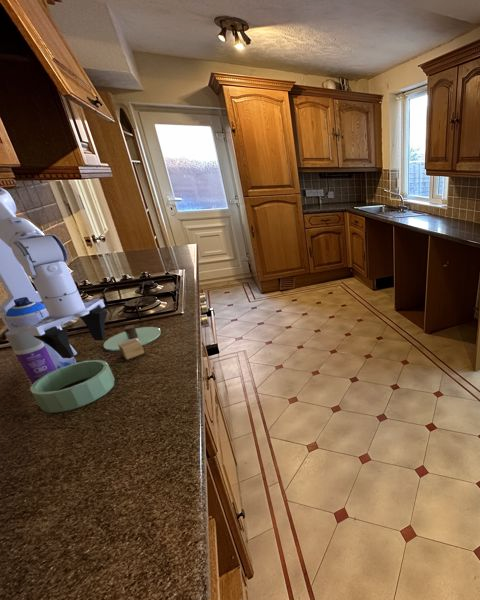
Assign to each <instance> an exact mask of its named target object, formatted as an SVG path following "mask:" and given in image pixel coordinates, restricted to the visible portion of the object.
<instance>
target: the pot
mask: <svg viewBox="0 0 480 600" xmlns="http://www.w3.org/2000/svg"><path fill="white" fill-rule="evenodd" d="M82 380H84V381H83V382H80V383H78V384H75V385H72V386H71V387H66V386H68V385H71V384H74V383H76V382H79V381H82ZM115 380H116V379H115V377H114V375H113V372H112V370H111V368H110V365H109V364H108V363H107V362H106V361H105V360H102V359H90V360H89V359H88V360H82V361H79V362H76V363H74V364H70V365H67V366H65V367H62V368H59V369H56V370H54V371H52V372H50V373H48V374H46V375H44V376H43V377H41V378H40V379H38V380H37V381H35V382H34V383H33V385H32V384H31V386H30V388H29V390H30V392H31V394H32V396H33V398H34V400H35V401H36V403H37V405H38V406H39V408H40V410H42V411H43V412H45V413H52V414H54V413H61V412H67V411H71V410H72V411H73V410H75V409H78V408H81V407H83V406H86V405H88V404H90V403H93V402H95V401H97V400H98V399H100V398H102V397H103V396H105V395H106V394H108V393H109V392H110V391H111V390H112V389H113V388H114V386H115V384H116V382H115Z"/></svg>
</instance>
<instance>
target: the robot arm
mask: <svg viewBox="0 0 480 600" xmlns="http://www.w3.org/2000/svg"><path fill="white" fill-rule="evenodd" d="M16 214H17V205H16V202H15V201H14V198H13V196H12V195H11V194H10V192H9V191H7V190H6V189H4V188H3V187H1V186H0V283H1V285H2V287H3V288H4V290H5V292H6V294H7V296H8V297H7V298H6V299H4V301H2V302H1V303H0V316H1V320H2V322H3V324H4V325H5V327H6V328H7V330H8V331H10V328H9V326H8V325H7V323H6V321H5V317H4V315H5V314H6V313H7V311H8V309H10V308H11V307H12V306H14V305H15V303H14V300H15V299H19V298H23V297H27V298H28V299H29V301H34V302H40V303H42V304H44V305H45V307H46V309H47V312H48V314H49V316H47V317H45V318H44V319H42V320H40V321H39V322H37V323H35V324H33V325H31V326H29V327H27V328H28V330H29V332H30V334H31V336H34V337H35V338H37V339H39V340H41V341H43V342H45V343H46V344H48V345H49V346H50V347H52V348H53V349H54V350H55V351H56V352H57V353H58V354H59V355H60V356H61V357H62V358H72V357H74V358H75V356H76V355H78V352H77V350H75V348H73V346H72V345H71V344H70V341H69V334H68V333H69V331H68V330H67V329H63V328H62V326H63V325H65V324H67V323H69V322H71V321H74V320H76V319H77V318H80V319H81V321H82V322H84V324H85V326H86V327H87V329H88V331H89V333H90V335H91V337H92V338H93V340H94V341H104V340H106V335H105V333H106V332H105V324H106V319H107V316H108V314H109V313H108V310H107V309H106V308H105V307H106V305H105V303H104V299H101V298H94V299H91V300H89V301H86V302H84V301H83V299H82V297H81V294H80V292H79V289H78V288H77V285H76V283H75V280H74V278H73V276H72V274H71V272H70V269H69V266H68V264H67V262H68V260H69V254H68V252H67V249H66V247H65V245H64V243H63V242H62V240H61V239H60V238H59V237H58V236H57V235H56V234H54V233H51V234H50V233H43V232H42V230H41V229H39V228H38V227H37V226H36V225H34V224H33V222H31V221H29V220H28V219H26V218H24V217H19V216H17V215H16ZM29 277H30V278H29ZM30 279H31V280H30ZM31 281H32V282H31ZM32 283H33V284H32ZM33 285H34V286H33ZM58 326H59V327H60V329H61V330H60V329H59V328H58V329H57V327H58Z"/></svg>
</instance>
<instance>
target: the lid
mask: <svg viewBox="0 0 480 600" xmlns="http://www.w3.org/2000/svg"><path fill="white" fill-rule="evenodd" d="M123 330H124V331H122V332H120V333H118V334H115V335H113V336H110V337H109V338H108V339H107V340H106V341H105V342H104V343H103V348H104V349H105V351H110V352H121V351H120V349H119V346H118V344H119V343H122V342H125V341H128V340H131V339H134V338H136V339H137V340H138V341H139V342H141V345H142V346H144V345H147V344H150V343H151V342H153V341H155V340H156V339H158V338H159V337H160V336H161V334H162V331H161V328H159V327H156V326H144V327H135V325H133V324H131V325H127V326H124V328H123Z"/></svg>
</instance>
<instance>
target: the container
mask: <svg viewBox="0 0 480 600" xmlns="http://www.w3.org/2000/svg"><path fill="white" fill-rule="evenodd" d="M27 327H29V326H23V327H18V328H15V329H12V330H10V331H9V330H8V331H5V332H4V334H5V338H6V339H7V342H8V343H9V346H10V347H11V349H12V351H13V353H14V355H15V356H16V359H17V360H18V362H19V363H20V365H21V367H22V369H23V370H24V373H25V374H26V376H27V378H28V379H29V381H30V383H31V386H32V385H33V383H34V382H35V381H37V380H38V379H40V378H41V377H43V376H44V375H46V374H48V373H50V372H52V371H54V370H56V369H57V368H56V366H55V364H54V362H53V360H52V358H51V356H50V354H49V352H48V350H47V348H46V346H45V345H44V343H43V341H41V340H39V339H37V338H35V337H34V336H31V334H30V332H29V330H28V328H27Z"/></svg>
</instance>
